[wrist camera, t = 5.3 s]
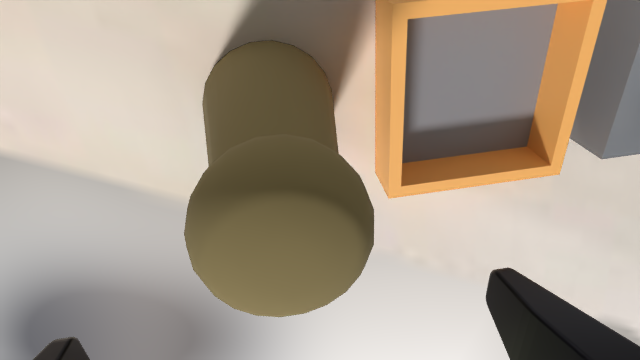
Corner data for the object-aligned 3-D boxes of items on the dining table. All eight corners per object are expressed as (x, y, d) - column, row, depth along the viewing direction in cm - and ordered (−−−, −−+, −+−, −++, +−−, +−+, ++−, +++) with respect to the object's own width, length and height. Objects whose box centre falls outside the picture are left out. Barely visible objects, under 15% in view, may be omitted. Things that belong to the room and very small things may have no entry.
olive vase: (225, 17, 17) (196, 124, 8) (354, 70, 19) (451, 206, 10) (187, 141, 20) (131, 331, 11) (303, 176, 22) (343, 363, 12)
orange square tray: (570, -25, 18) (612, -19, 16) (531, 151, 23) (559, 174, 21) (375, -6, 18) (392, 4, 16) (375, 172, 22) (388, 198, 20)
